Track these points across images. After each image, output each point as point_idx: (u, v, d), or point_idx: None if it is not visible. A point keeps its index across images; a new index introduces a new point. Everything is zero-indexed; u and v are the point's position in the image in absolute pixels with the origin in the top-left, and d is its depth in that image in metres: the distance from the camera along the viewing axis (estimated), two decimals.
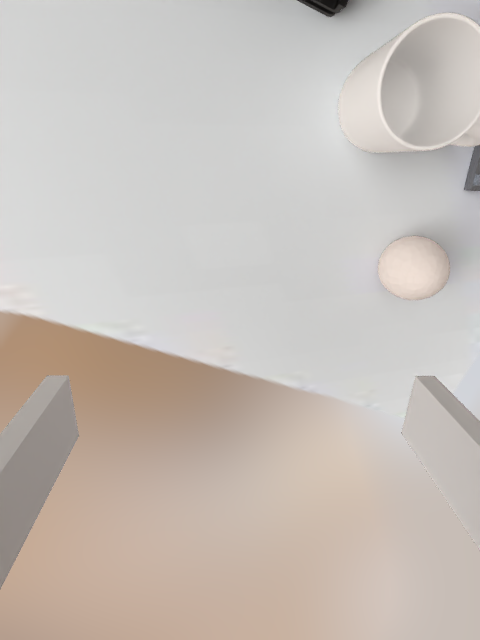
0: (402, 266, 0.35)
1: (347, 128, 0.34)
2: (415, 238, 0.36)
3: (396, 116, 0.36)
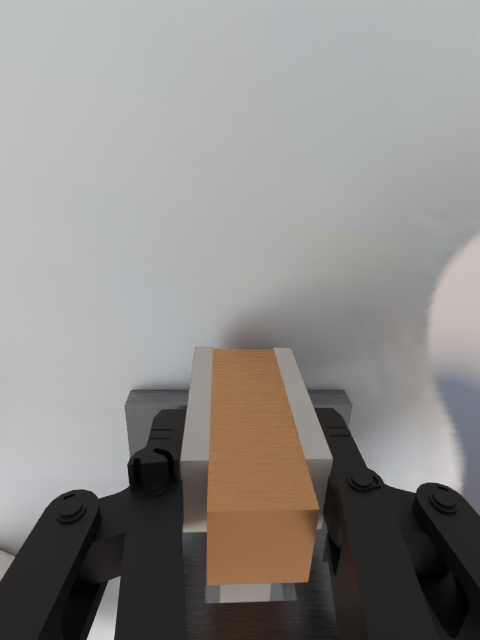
0: None
1: None
2: None
3: None
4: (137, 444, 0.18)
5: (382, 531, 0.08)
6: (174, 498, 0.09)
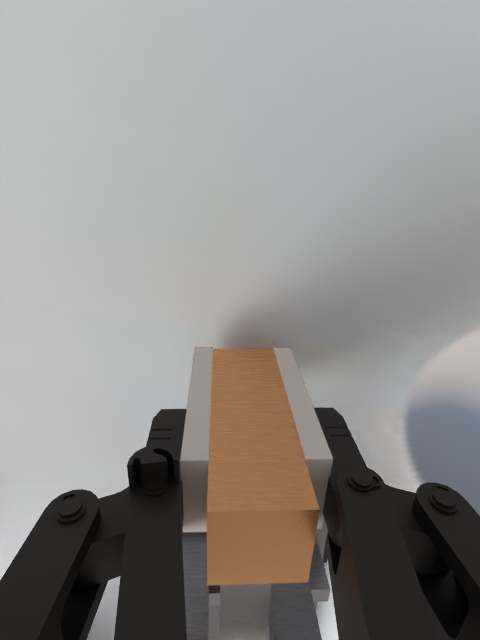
0: None
1: None
2: None
3: None
4: None
5: (383, 531, 0.08)
6: (174, 498, 0.09)
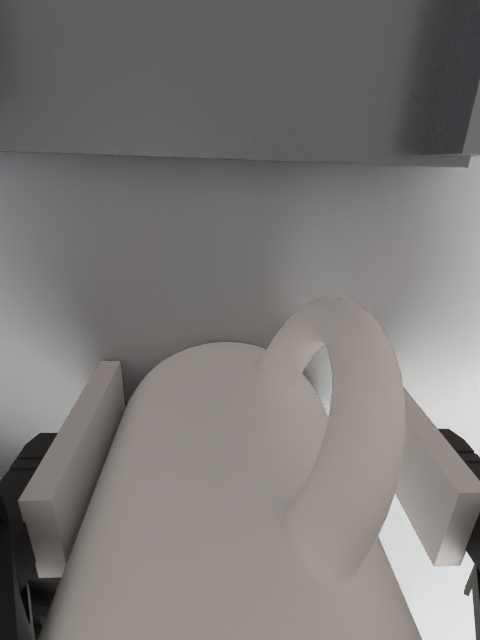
0: None
1: None
2: None
3: None
4: None
5: None
6: (2, 540, 0.08)
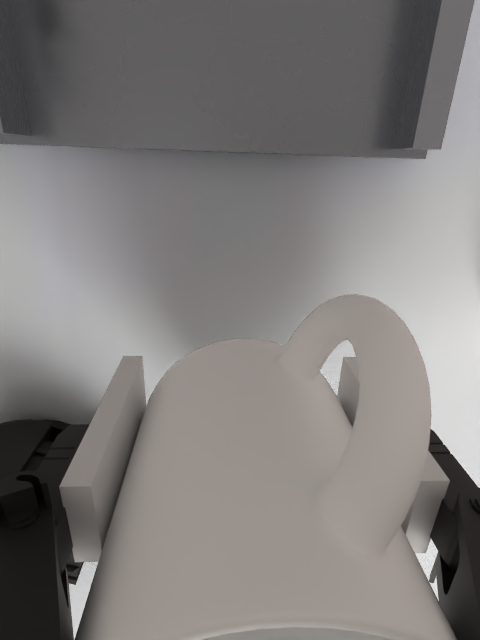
0: None
1: None
2: None
3: None
4: None
5: None
6: (46, 525, 0.08)
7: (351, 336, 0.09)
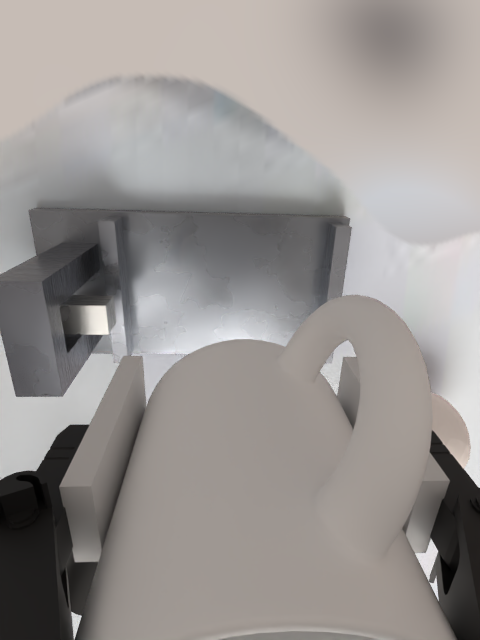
0: None
1: None
2: None
3: None
4: None
5: None
6: (46, 524, 0.08)
7: (352, 337, 0.09)
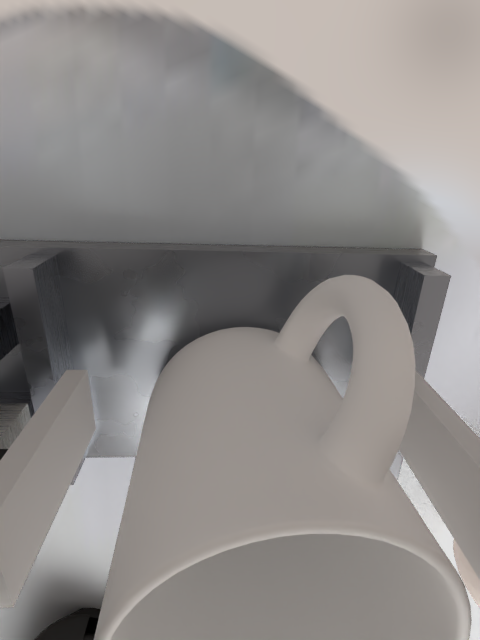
0: None
1: None
2: (472, 586, 0.20)
3: None
4: None
5: None
6: None
7: (343, 307, 0.10)
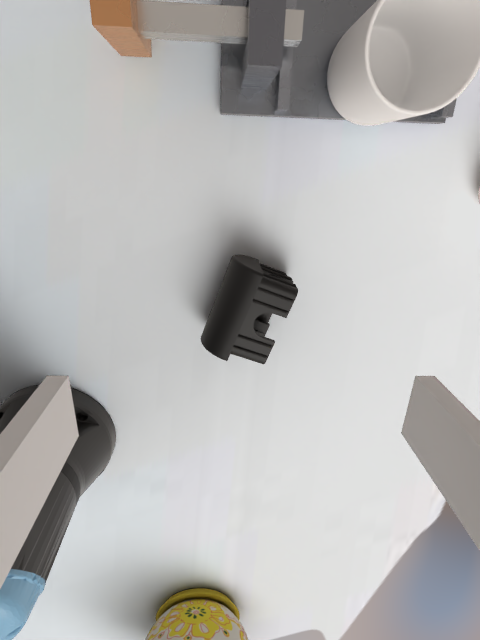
0: None
1: None
2: None
3: (383, 52, 0.33)
4: (245, 109, 0.35)
5: None
6: None
7: None
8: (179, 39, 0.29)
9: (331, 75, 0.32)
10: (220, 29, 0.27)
